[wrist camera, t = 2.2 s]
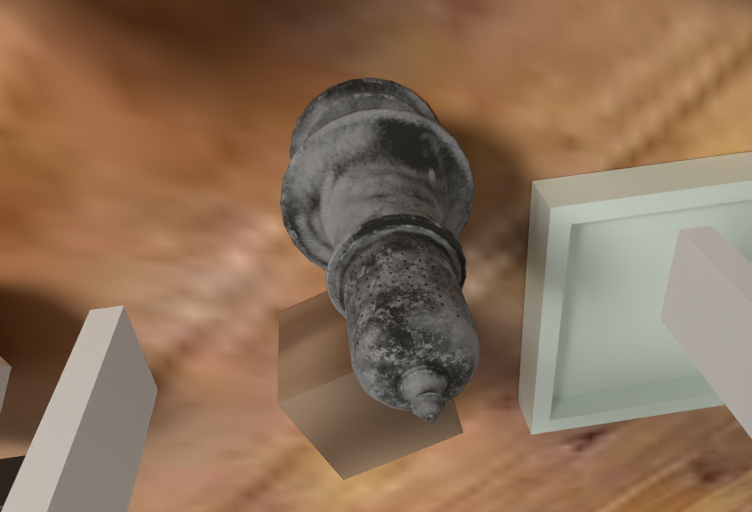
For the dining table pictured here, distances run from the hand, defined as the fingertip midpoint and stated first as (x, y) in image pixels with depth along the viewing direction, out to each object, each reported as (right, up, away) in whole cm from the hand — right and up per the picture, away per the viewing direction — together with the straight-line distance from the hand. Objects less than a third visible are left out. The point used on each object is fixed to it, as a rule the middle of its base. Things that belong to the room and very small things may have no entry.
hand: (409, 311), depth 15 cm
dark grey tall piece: (-1, +5, +7) cm, 9 cm away
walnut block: (-1, -2, +11) cm, 11 cm away
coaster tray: (+11, 0, +12) cm, 16 cm away
